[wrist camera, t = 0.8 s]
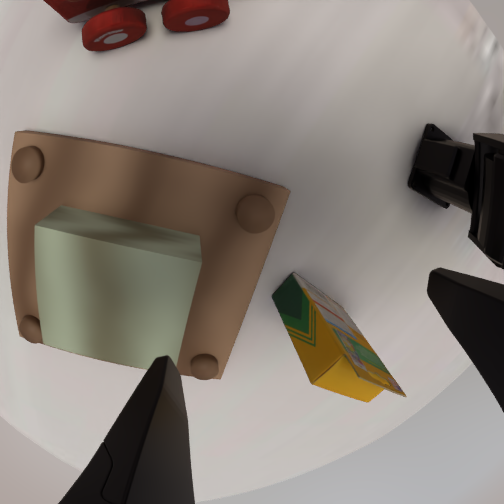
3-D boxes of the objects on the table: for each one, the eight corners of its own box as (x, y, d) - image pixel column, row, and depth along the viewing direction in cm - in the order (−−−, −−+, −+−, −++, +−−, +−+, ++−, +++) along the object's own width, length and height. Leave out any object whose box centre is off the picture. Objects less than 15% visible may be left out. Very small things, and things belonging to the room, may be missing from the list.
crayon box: (268, 296, 24) (319, 408, 14) (292, 270, 23) (360, 374, 13) (322, 329, 27) (378, 422, 17) (343, 307, 26) (409, 396, 16)
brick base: (283, 186, 20) (313, 207, 15) (218, 368, 26) (226, 412, 22) (25, 130, 14) (-18, 137, 9) (25, 326, 20) (4, 364, 16)
